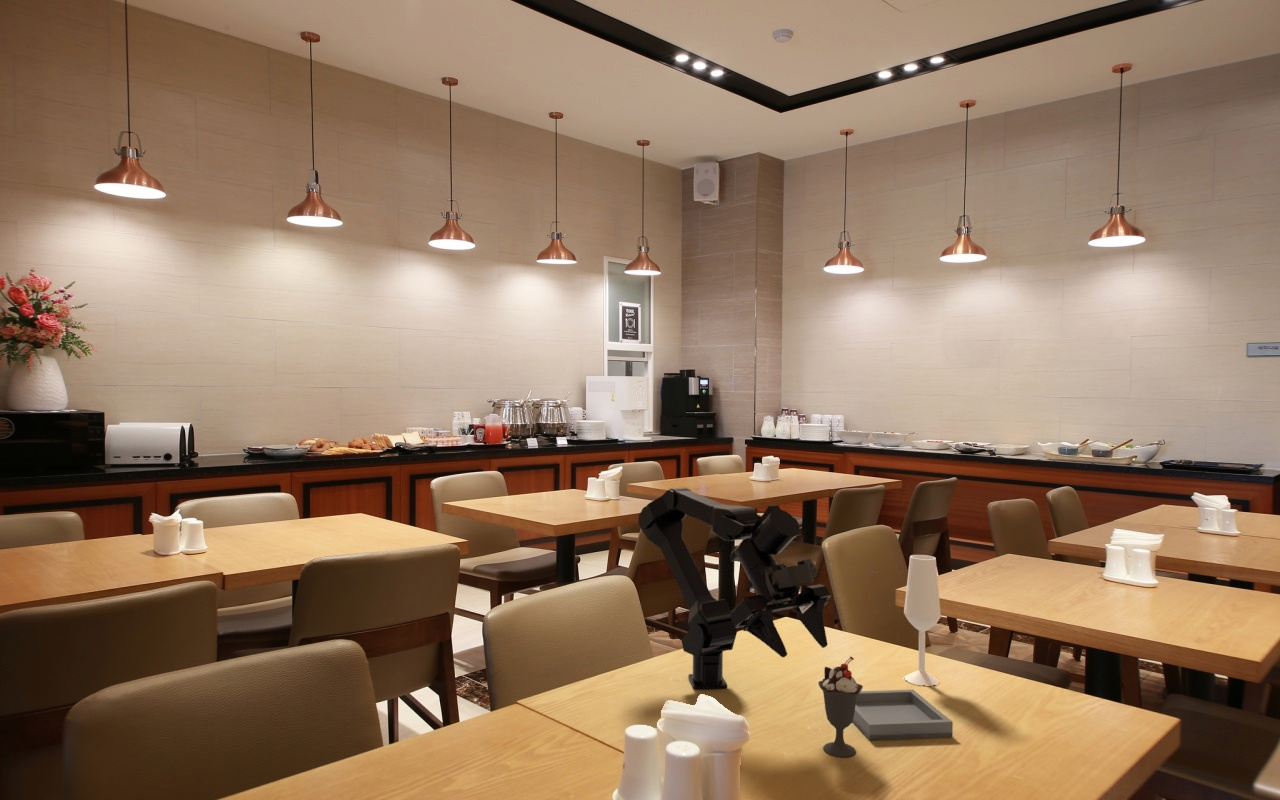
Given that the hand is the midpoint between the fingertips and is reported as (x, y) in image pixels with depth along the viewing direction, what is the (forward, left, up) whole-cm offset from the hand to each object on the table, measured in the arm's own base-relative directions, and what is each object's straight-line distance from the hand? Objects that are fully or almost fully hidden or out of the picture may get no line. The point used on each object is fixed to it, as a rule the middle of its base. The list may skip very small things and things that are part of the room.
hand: (805, 651), depth 127 cm
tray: (-3, +16, -13) cm, 21 cm away
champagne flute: (-21, +30, -13) cm, 39 cm away
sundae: (+7, +3, -13) cm, 16 cm away
